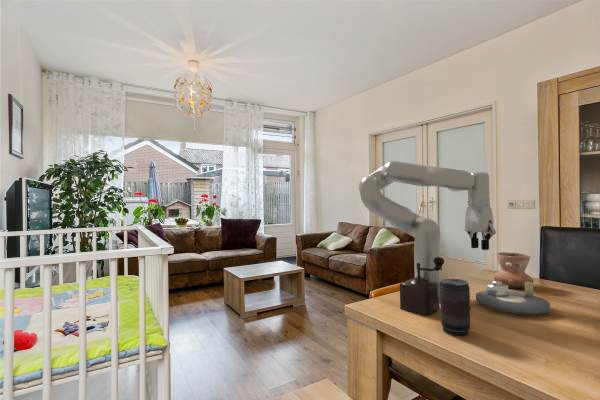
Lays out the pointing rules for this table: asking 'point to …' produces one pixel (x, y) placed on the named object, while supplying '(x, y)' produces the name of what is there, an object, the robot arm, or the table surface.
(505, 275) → the ceramic jug
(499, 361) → the table surface
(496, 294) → the cover
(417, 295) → the manual coffee grinder
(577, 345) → the table surface
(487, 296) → the turntable
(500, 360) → the table surface
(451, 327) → the camera lens
